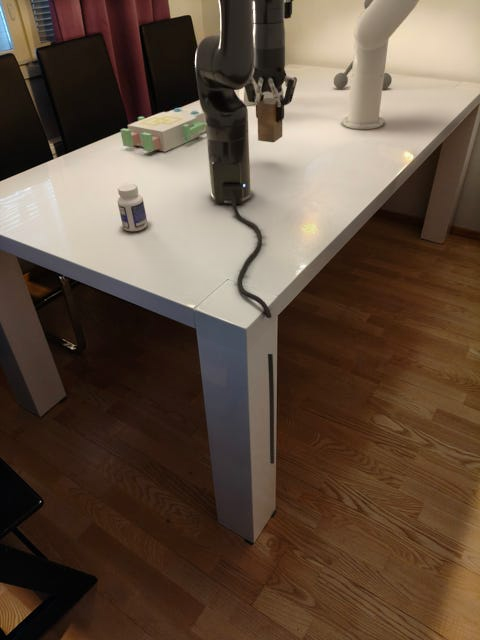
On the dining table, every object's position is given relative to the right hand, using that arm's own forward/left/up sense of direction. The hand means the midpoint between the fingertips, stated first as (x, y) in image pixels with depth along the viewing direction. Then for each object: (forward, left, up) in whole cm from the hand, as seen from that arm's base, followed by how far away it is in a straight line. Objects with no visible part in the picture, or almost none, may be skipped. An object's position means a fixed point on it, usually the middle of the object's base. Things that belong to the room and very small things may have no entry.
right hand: (272, 17), depth 143 cm
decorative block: (+23, -29, -30) cm, 47 cm away
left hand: (+38, +8, -18) cm, 43 cm away
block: (+38, +8, -22) cm, 45 cm away
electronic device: (-24, -12, -30) cm, 40 cm away
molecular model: (-51, +23, -30) cm, 63 cm away
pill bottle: (+79, -13, -30) cm, 85 cm away
